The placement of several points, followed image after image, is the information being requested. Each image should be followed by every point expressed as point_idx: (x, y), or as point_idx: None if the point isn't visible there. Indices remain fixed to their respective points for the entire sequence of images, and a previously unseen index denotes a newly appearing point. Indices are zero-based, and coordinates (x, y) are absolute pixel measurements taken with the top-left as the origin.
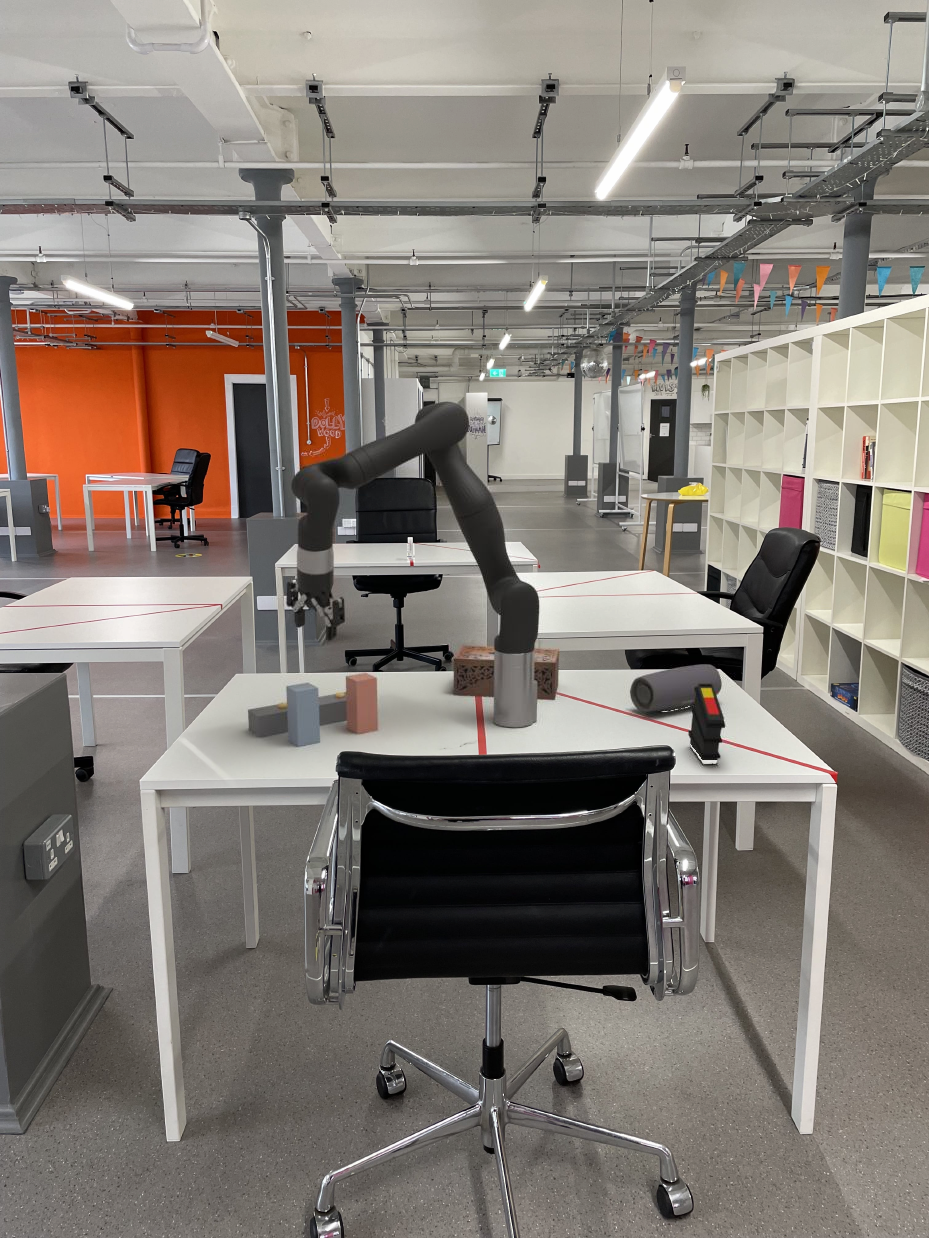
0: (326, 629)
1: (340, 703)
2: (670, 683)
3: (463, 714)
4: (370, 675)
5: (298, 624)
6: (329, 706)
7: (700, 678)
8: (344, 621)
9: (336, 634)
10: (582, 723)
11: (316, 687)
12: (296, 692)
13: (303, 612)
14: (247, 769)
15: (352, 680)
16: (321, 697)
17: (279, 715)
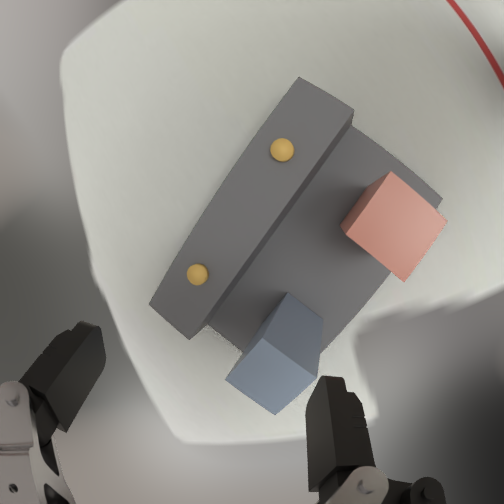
0: (311, 467)
1: (302, 183)
2: None
3: (474, 63)
4: (419, 199)
5: (97, 376)
6: (284, 208)
7: None
8: (439, 488)
9: (362, 406)
10: None
11: (310, 376)
12: (275, 412)
13: (56, 392)
14: (257, 415)
15: (383, 264)
16: (240, 170)
17: (214, 306)
